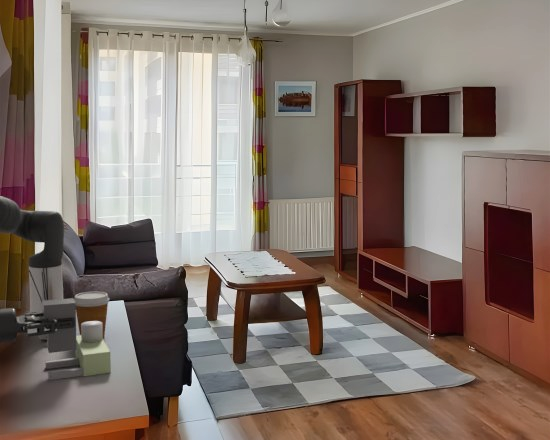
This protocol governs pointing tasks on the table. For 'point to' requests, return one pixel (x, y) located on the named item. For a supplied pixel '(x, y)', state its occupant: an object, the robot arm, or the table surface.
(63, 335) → the grey lidded box
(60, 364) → the pale green boxy piece
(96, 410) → the table surface
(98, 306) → the disposable coffee cup
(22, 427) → the table surface
